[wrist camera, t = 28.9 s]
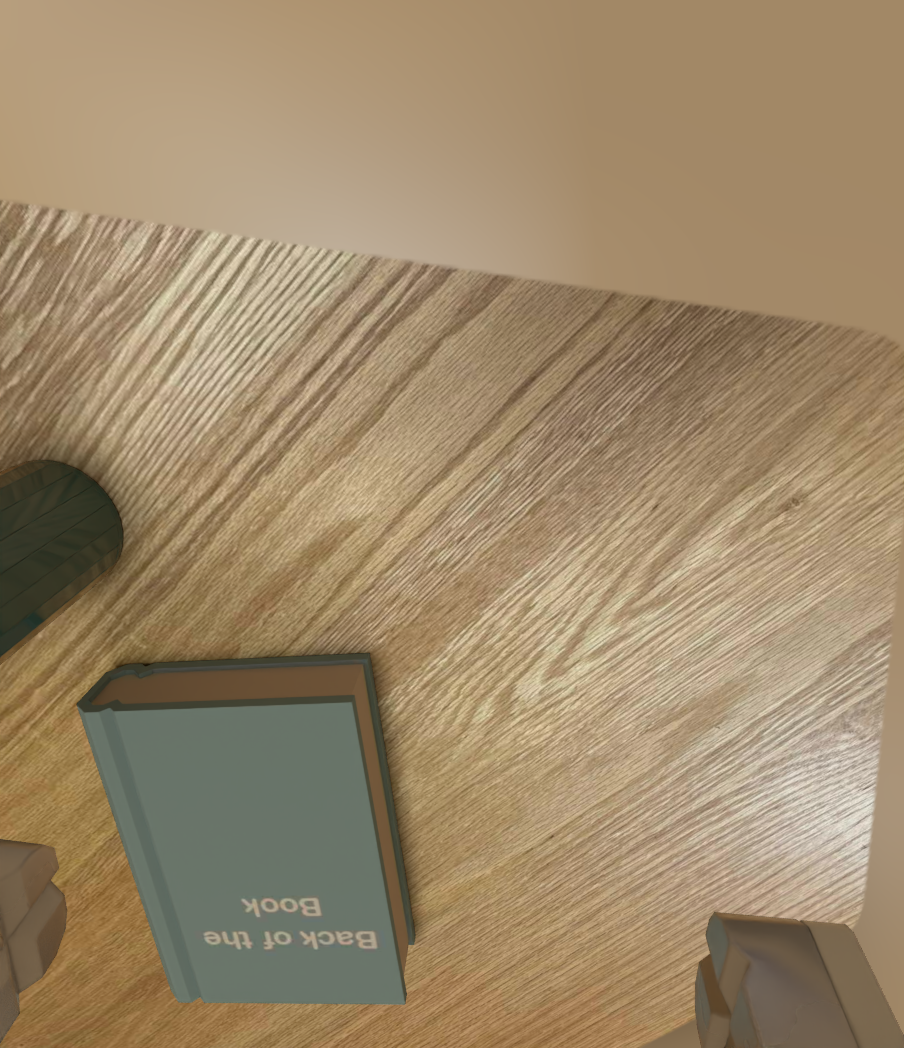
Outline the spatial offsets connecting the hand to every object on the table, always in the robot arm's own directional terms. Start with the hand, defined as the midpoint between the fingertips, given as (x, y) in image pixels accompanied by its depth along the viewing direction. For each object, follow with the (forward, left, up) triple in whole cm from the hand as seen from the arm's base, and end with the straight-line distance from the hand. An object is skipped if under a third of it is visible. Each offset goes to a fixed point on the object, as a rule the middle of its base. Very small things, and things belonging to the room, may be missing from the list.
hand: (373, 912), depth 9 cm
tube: (+9, -24, -31) cm, 40 cm away
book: (+28, -12, -31) cm, 44 cm away
